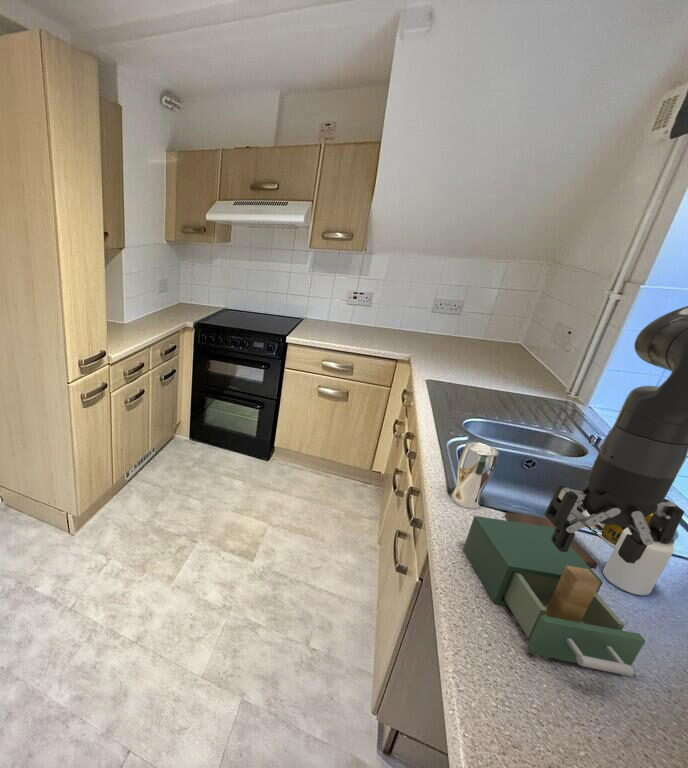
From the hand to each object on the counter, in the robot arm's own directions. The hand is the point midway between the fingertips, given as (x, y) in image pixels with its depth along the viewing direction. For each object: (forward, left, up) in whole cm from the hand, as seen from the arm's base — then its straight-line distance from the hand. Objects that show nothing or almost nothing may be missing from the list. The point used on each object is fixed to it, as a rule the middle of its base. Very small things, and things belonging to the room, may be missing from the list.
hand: (591, 553), depth 63 cm
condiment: (-29, -32, -18) cm, 46 cm away
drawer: (0, +1, -16) cm, 16 cm away
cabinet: (0, -12, -17) cm, 21 cm away
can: (-21, -17, -17) cm, 32 cm away
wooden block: (0, 0, -15) cm, 15 cm away
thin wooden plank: (-13, -27, -17) cm, 34 cm away
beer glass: (-1, -38, -17) cm, 41 cm away
